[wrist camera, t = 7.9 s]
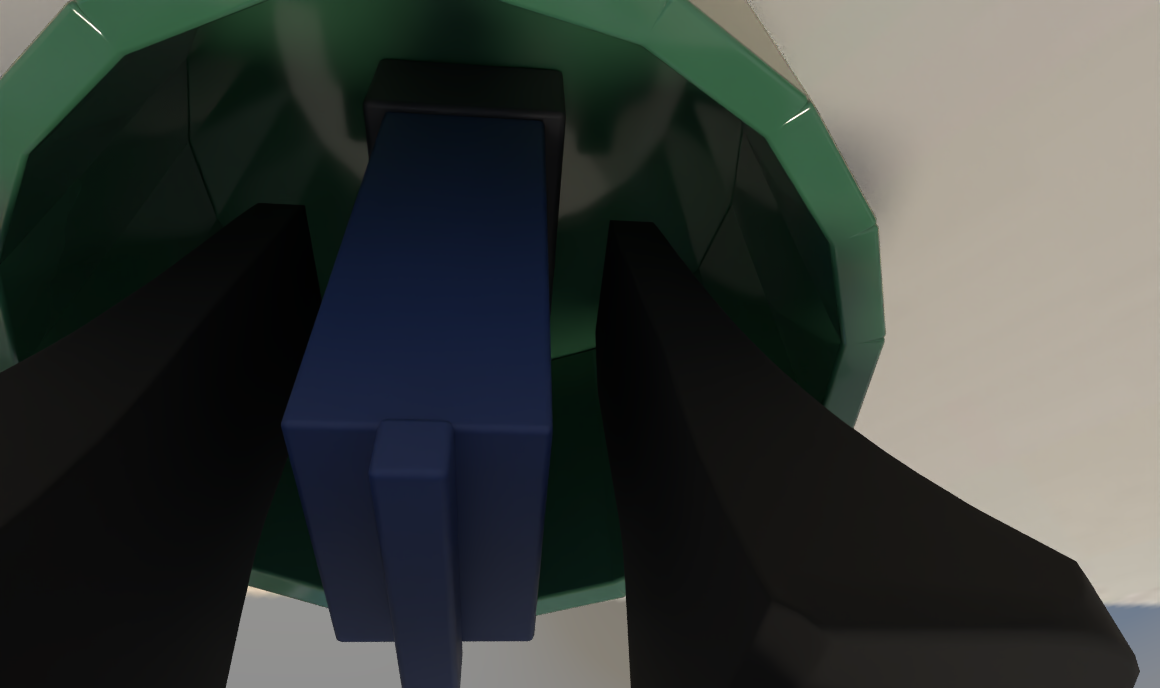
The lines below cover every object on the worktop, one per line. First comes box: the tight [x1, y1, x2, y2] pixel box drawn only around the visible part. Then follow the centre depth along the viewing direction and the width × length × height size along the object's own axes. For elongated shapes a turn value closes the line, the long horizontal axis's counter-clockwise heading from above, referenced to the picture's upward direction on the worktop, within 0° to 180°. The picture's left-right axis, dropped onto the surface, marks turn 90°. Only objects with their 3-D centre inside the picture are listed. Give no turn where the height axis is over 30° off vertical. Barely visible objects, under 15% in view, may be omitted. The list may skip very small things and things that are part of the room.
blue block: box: [281, 59, 566, 688], centre depth 10 cm, size 4×3×8 cm
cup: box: [0, 0, 886, 616], centre depth 11 cm, size 10×10×6 cm
